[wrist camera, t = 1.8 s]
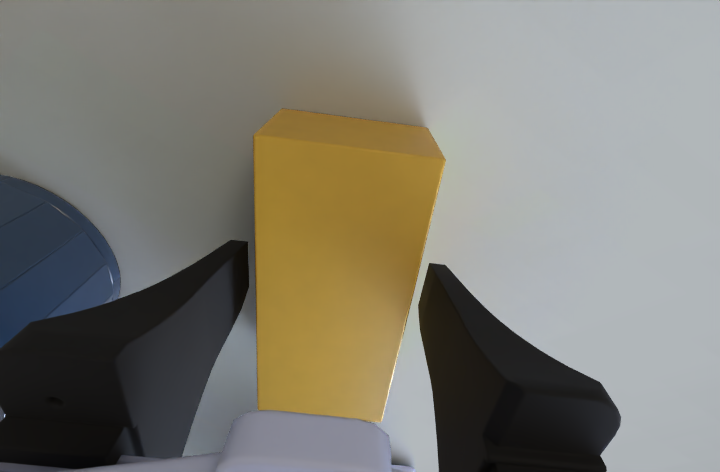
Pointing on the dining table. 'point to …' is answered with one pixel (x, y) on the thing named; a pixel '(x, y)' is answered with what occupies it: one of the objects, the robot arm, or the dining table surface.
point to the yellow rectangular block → (337, 256)
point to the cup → (48, 259)
